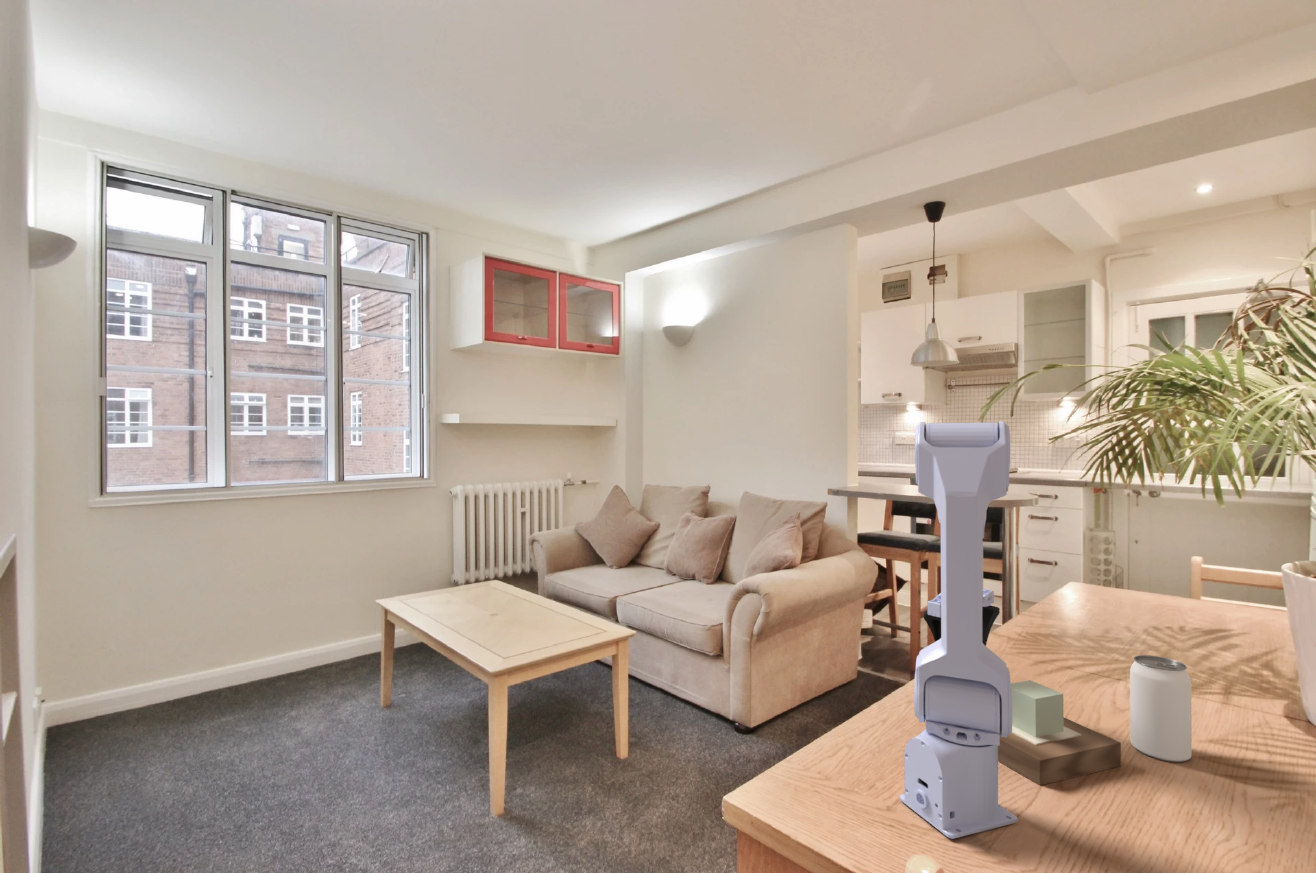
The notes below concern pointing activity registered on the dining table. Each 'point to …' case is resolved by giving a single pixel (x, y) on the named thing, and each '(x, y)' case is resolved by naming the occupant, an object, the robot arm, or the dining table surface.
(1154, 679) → the can
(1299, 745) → the dining table surface
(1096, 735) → the base
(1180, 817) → the dining table surface
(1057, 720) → the cube
